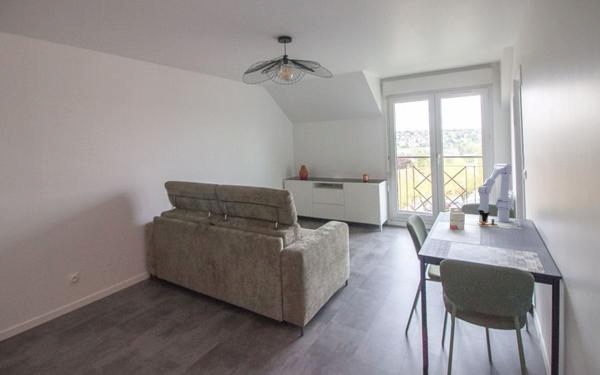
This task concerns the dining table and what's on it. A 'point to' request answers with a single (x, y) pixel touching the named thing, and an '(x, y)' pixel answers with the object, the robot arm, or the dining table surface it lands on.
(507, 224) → the mat
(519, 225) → the dining table surface
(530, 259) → the dining table surface
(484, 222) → the sleeve
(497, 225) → the pin board
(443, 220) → the dining table surface
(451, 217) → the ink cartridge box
